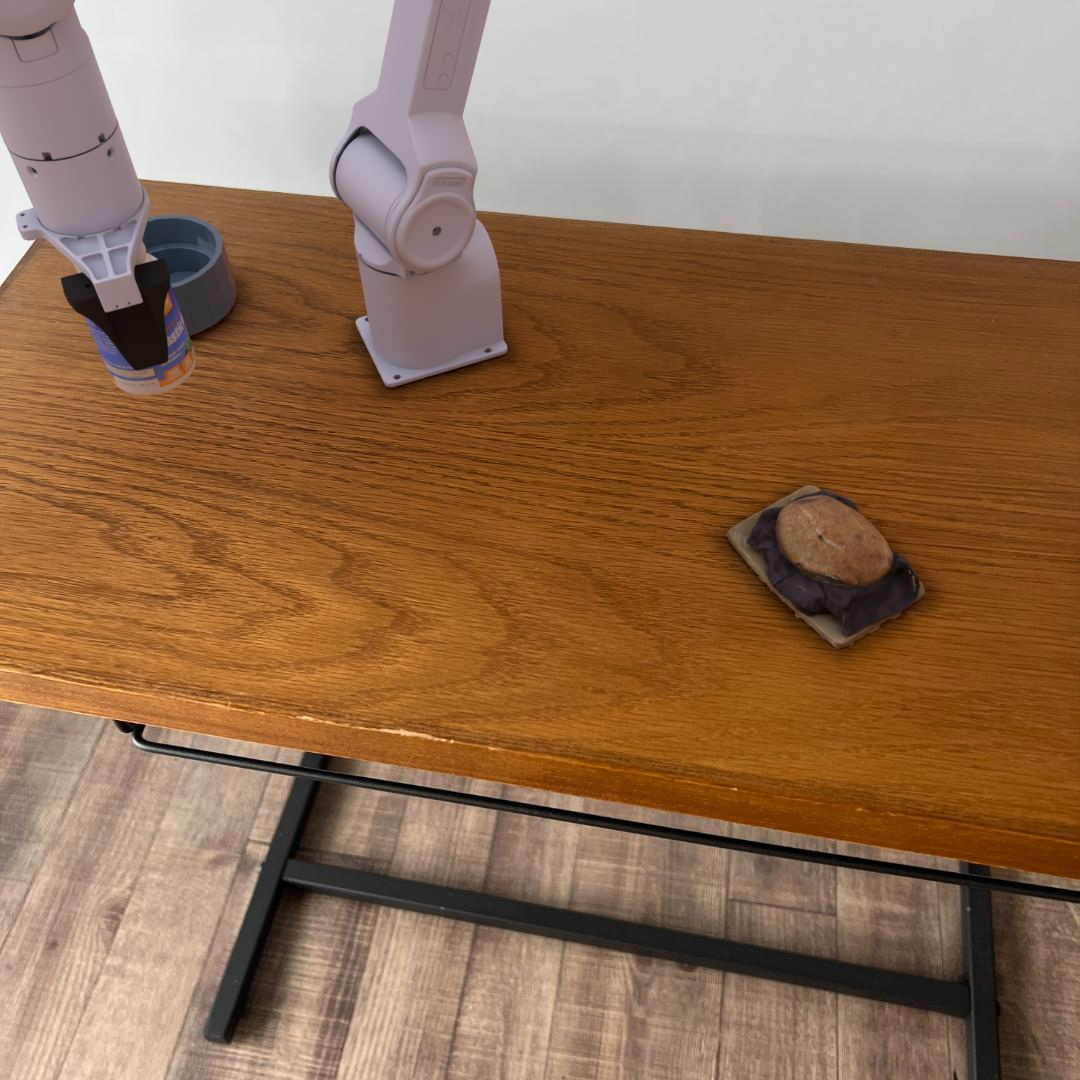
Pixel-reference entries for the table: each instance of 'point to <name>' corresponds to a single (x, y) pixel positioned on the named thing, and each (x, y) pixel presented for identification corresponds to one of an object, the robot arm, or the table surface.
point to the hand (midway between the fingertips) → (141, 333)
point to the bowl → (193, 267)
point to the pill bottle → (159, 375)
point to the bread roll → (827, 564)
